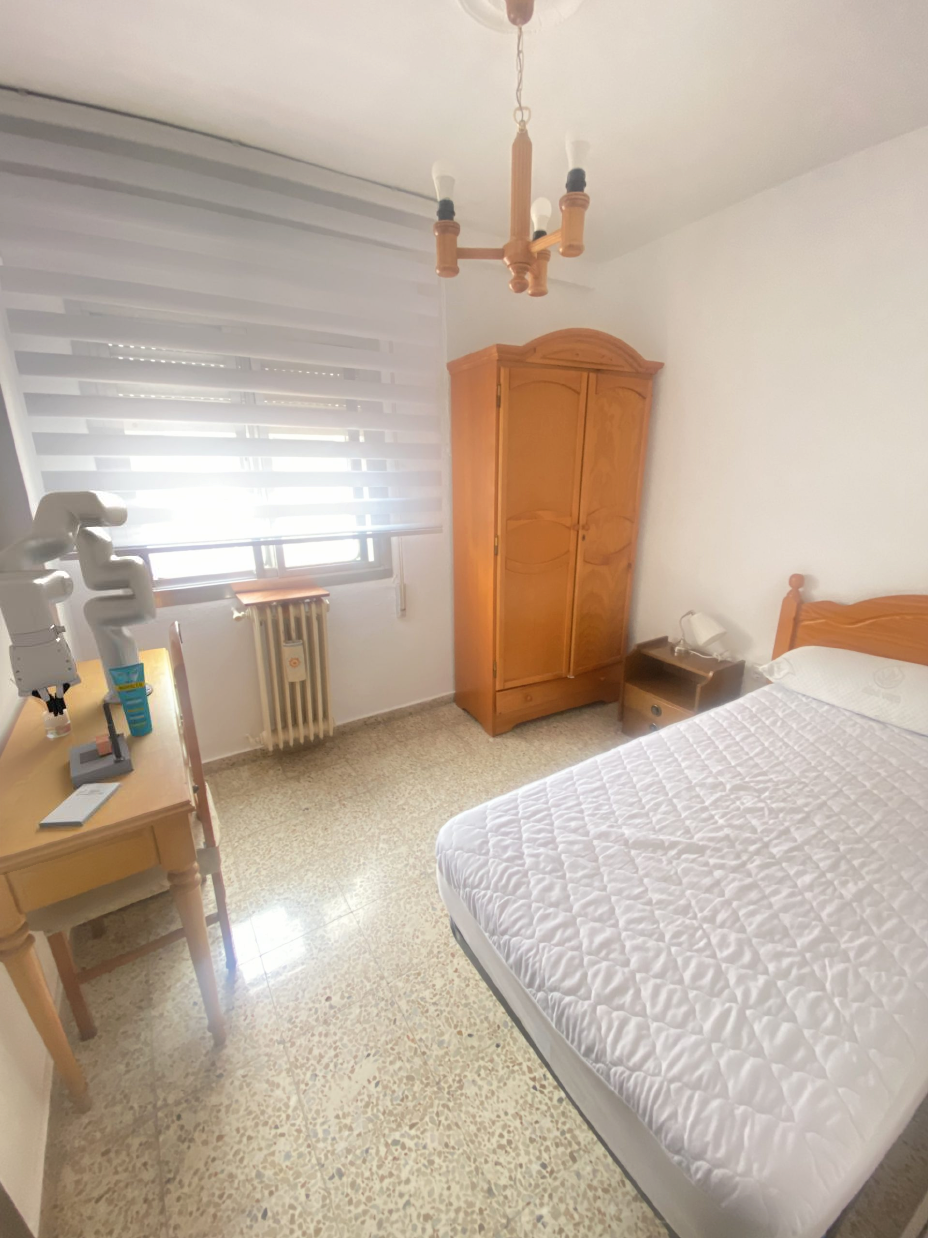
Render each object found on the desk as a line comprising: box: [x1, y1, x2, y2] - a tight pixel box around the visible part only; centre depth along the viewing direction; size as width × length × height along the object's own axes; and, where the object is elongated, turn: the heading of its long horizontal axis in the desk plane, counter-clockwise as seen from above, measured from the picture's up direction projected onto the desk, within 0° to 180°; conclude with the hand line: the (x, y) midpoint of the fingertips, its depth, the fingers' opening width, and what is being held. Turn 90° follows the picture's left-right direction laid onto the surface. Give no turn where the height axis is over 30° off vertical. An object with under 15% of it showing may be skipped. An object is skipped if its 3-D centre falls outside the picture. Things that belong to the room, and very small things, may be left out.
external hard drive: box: [38, 782, 122, 829], centre depth 102 cm, size 2×8×12 cm
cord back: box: [102, 702, 117, 733], centre depth 121 cm, size 1×1×8 cm
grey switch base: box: [68, 732, 134, 790], centre depth 116 cm, size 16×11×3 cm
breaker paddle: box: [94, 733, 112, 756], centre depth 116 cm, size 4×2×3 cm, turn 39°
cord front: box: [107, 724, 122, 758], centre depth 111 cm, size 1×1×8 cm
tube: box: [108, 662, 153, 737], centre depth 127 cm, size 7×5×19 cm, turn 123°
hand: (58, 713), depth 109 cm, fingers closed
